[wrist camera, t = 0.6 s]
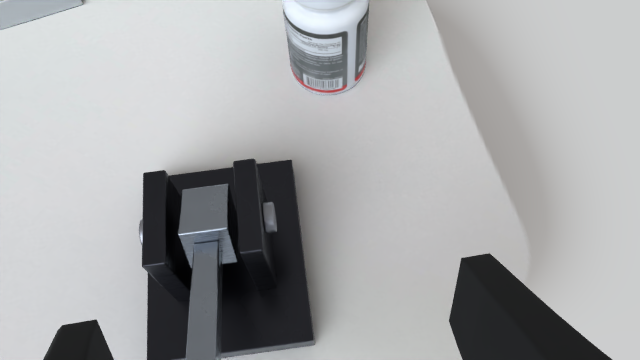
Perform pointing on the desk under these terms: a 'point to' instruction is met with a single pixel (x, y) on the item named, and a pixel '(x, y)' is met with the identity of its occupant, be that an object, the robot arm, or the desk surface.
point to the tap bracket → (238, 278)
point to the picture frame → (31, 10)
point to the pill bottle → (327, 43)
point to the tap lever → (207, 262)
